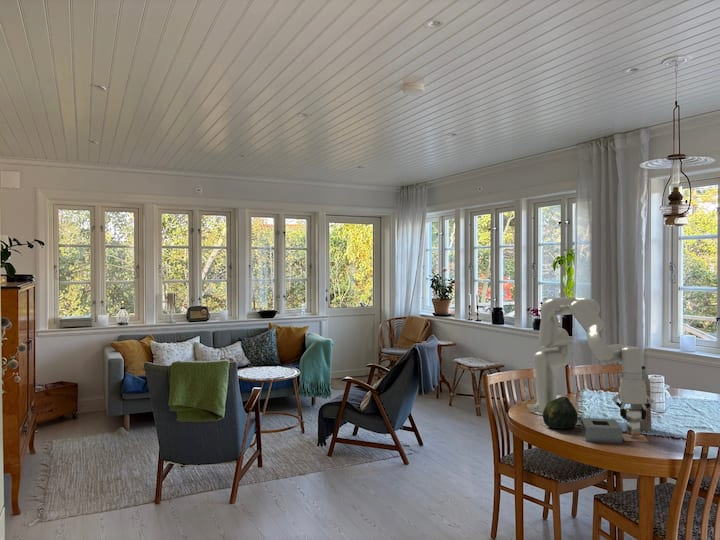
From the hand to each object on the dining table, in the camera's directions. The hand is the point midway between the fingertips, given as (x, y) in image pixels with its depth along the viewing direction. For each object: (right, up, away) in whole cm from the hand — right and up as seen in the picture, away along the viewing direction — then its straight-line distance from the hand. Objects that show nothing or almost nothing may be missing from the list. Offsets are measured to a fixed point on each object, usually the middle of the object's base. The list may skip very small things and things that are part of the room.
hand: (633, 418), depth 224 cm
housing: (-13, -9, +2) cm, 15 cm away
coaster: (0, -8, 0) cm, 8 cm away
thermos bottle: (+10, -8, +12) cm, 17 cm away
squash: (-24, -9, +18) cm, 31 cm away
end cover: (0, -7, 0) cm, 7 cm away
